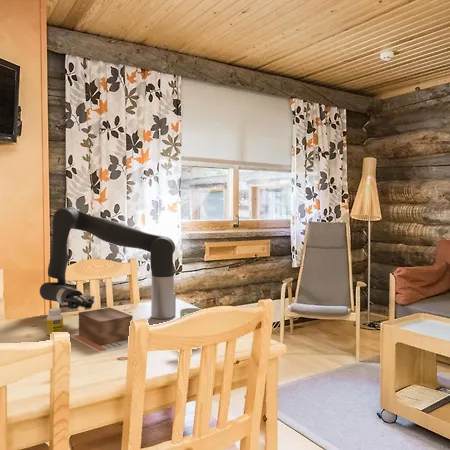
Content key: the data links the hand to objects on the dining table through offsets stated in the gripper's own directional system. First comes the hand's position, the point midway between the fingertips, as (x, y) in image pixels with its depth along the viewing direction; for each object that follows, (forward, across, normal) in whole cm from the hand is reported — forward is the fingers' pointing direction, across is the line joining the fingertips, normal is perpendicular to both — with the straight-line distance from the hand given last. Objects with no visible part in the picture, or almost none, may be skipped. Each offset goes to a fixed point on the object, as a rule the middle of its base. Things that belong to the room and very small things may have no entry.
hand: (89, 305), depth 165 cm
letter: (+13, -1, +9) cm, 16 cm away
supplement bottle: (-1, -13, +10) cm, 16 cm away
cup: (+32, +22, +9) cm, 40 cm away
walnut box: (+11, 0, +9) cm, 15 cm away
